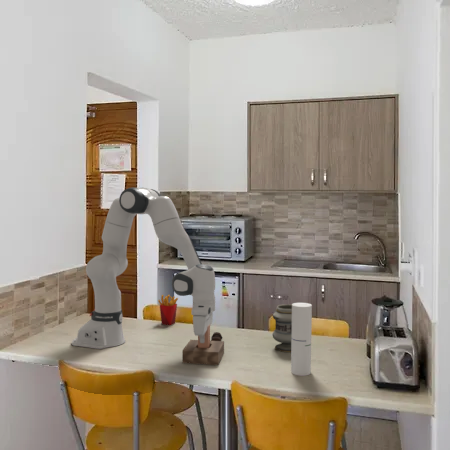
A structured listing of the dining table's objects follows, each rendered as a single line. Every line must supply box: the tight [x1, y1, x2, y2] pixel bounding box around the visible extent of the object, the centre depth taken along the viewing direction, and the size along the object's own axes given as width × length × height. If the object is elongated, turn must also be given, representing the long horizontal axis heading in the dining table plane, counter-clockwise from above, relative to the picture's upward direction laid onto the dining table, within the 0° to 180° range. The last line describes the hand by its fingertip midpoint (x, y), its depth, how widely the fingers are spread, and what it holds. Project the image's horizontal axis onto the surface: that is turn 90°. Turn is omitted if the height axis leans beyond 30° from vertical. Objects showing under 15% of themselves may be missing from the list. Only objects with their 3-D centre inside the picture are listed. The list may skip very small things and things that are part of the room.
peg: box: [197, 325, 211, 348], centre depth 195 cm, size 4×4×12 cm
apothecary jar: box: [272, 303, 292, 353], centre depth 208 cm, size 12×12×18 cm
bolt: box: [210, 331, 224, 341], centre depth 213 cm, size 6×5×15 cm
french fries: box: [157, 294, 179, 327], centre depth 244 cm, size 9×8×15 cm
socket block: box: [181, 339, 225, 366], centre depth 195 cm, size 14×14×5 cm
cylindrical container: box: [290, 302, 313, 377], centre depth 180 cm, size 7×7×25 cm
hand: (203, 340), depth 195 cm, fingers closed on peg, 4 cm apart
